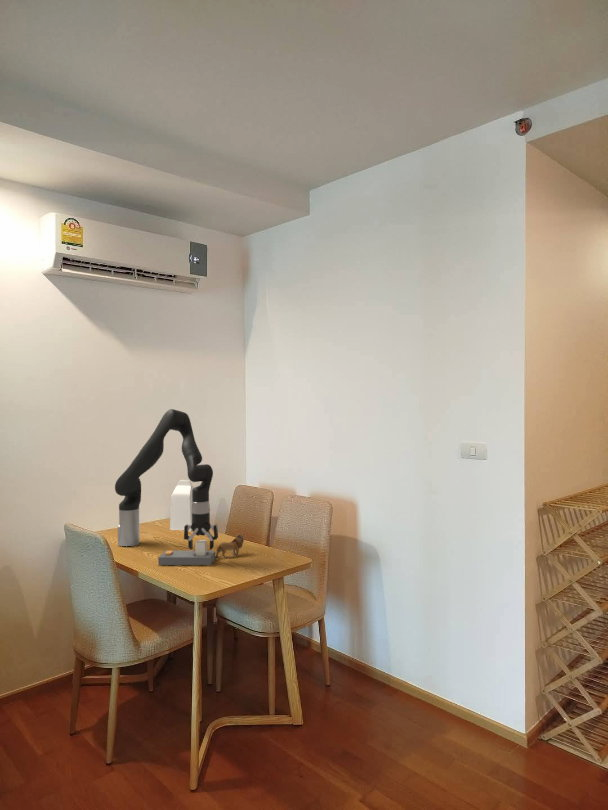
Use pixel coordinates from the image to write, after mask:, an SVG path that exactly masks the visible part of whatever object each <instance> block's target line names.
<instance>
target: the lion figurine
mask: <svg viewBox="0 0 608 810" xmlns="http://www.w3.org/2000/svg"><path fill="white" fill-rule="evenodd" d="M244 540H245V537H244V535H243V534H240V533H238V534H237V535H235V537H234V539H233V540H231V541H229V542H226V541H222V542H220V543H219V544H218V546H217V548H216V552H215V559H217V558H220V556H219V554H220V553H221V552H222V557H223V559H228V557H227V556H226V551H232V555H233V556H237V557H240V554H239V552H240V549H241V548H243V544H244V542H245V541H244Z"/></svg>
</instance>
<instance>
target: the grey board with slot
mask: <svg viewBox="0 0 608 810" xmlns="http://www.w3.org/2000/svg"><path fill="white" fill-rule="evenodd" d="M215 557H216V550H207V555H206V556H196V550H164V551H163V552H162V553H161V554H160V555H159V556H158V561H157V562H158V566H159V565H166V566H165V567H167V566H168V565H175V566H174V567H178V565H211V566H212V565H213V563H214V561H215V560H216V558H215ZM214 559H215V560H214ZM212 562H213V563H212Z"/></svg>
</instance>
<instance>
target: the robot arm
mask: <svg viewBox="0 0 608 810" xmlns="http://www.w3.org/2000/svg"><path fill="white" fill-rule="evenodd" d="M171 430H172V431H177V432H179V433H180V435H181V436H182V443H181V452H182V455H183V458H184V460H185V462H186V463H185V464H186V468H187V469H186V470H187V477H188V480H190V481H191V483H199V482H201V483H200V485H197V486H196V487H194V488H193V490H192V525H188V524H186V525H185V527H184V531H183V539H184V540H187V542H188V545H187V546H188V549H189V551H193V549H194V548H193V547H194V545H193V542H194V541H193V538H194V537H195V535H196V536H206V538H208V539H209V551H213V548H214V546H215V540H217V539H218V538H219V533H218V532H219V530H218V524H217V523H216V524H214V525H213V524H212V525H211V516H210V515H211V514H210V512H211V508H210V507H211V506H210V489H211V488H210V487H211V484H212V480H213V477H214V475H213V474H214V470H213V468H212V466H211V465H210V464H201V463H202V461H203V456H202V453H201V451H200V449H199V447H198V444H197V442H196V439H195V436H194V431H193V427H192V422H191V419H190V416H189V415H188V413H186V412H184V411H180V410H176V409H173V408H171V409H168V410H167V411H166V412H165V413H164V414H163V415H162V416H161V419H160V420H159V423H158V424H157V426H156V428H155V429H154V431H153V432H152V434H151V436H149V438H148V439H147V441H146V442H145V443H144V445H143V446H142V448H141V449H140V450H139V451H138V453H137V455H136V456H135V458H134V459H133V460H132V462H131V463H130V465H128V467H127V469H126V470H125V471H124V472H123V473H122V474H121V475H120V476H119V477H118V478H117V480H116V481H115V484H114V491H115V493H116V494H117V495H119V496H121V497H124V498H123V500H121V502H119V504H118V518H119V519H118V524H119V525H117V546H118V545H119V546H118V547H122V546H126V547H125V548H128V547H127V546H131V547H135V545H136V546H138V545H140V544H139V543H140V542H141V541H140V539H141V538H140V504H141V501H142V483H141V479H140V477H141V476H142V475H143V474H145V473H146V472H147V471H148V470H150V469H151V468H153V466H155V464H157V462H158V461H159V459H160V458H161V457H162V455H163V453H164V447H165V446H164V445H165V444H164V442H165V441H164V440H165V437H166V436H167V435H168V433H169V431H171ZM190 528H191V529H192V530H193V531H192V533H191V534H190V535H189V531H188V530H190ZM210 530H212V531H213V534H212V532H211V531H210Z"/></svg>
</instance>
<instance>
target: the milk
mask: <svg viewBox="0 0 608 810" xmlns="http://www.w3.org/2000/svg"><path fill="white" fill-rule="evenodd" d="M193 488H195V487H194V486H193V484H192V481H191V480H190V479H188V480H187V479H180V480H178V482H177V484H176V486H175V488H174V490H173V492H172V493H171V499H170V523H169V530H170V531H171V530H181V531H180V532H183V531H182V530H184V527H185V525H186V524H188V525H192V490H193ZM191 530H192V529H191V528H190V530H188V532H190V531H191ZM191 532H192V531H191Z"/></svg>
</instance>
